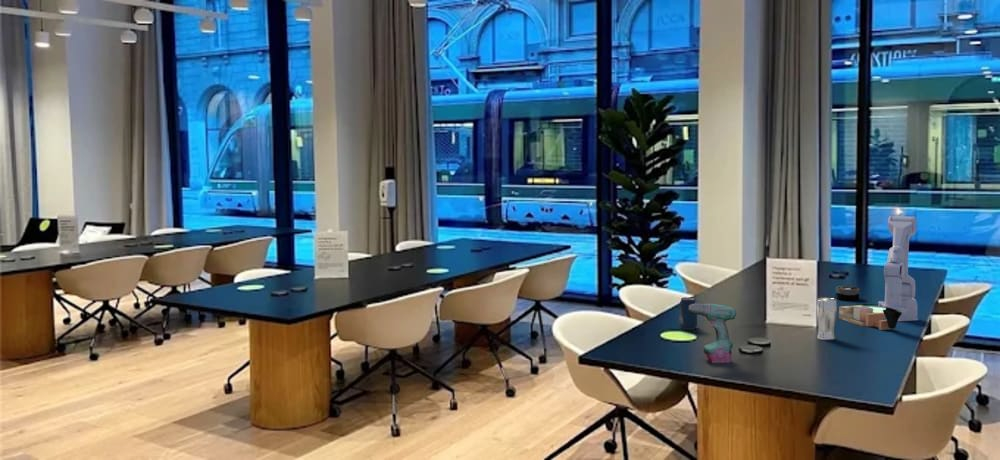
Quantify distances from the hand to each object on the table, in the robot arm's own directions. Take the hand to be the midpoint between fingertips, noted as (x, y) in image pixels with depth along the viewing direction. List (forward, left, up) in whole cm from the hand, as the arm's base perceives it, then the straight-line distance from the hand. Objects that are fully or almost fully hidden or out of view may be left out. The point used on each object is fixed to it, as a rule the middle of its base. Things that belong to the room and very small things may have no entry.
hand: (891, 328), depth 310 cm
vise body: (0, -19, -1) cm, 19 cm away
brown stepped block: (0, -7, -1) cm, 7 cm away
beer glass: (+31, +3, -2) cm, 31 cm away
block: (0, -17, -2) cm, 17 cm away
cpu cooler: (-23, -62, -2) cm, 67 cm away
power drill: (+86, +21, -2) cm, 88 cm away
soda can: (+73, -27, -2) cm, 77 cm away
